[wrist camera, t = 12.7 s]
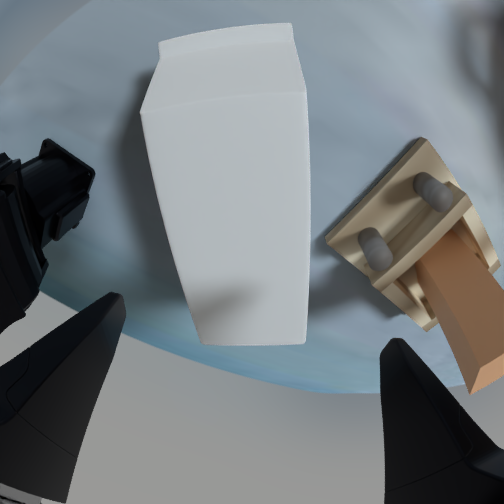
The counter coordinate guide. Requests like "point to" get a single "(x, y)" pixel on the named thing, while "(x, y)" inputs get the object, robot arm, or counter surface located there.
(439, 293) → the block
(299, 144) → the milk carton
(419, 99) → the counter surface
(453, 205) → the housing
